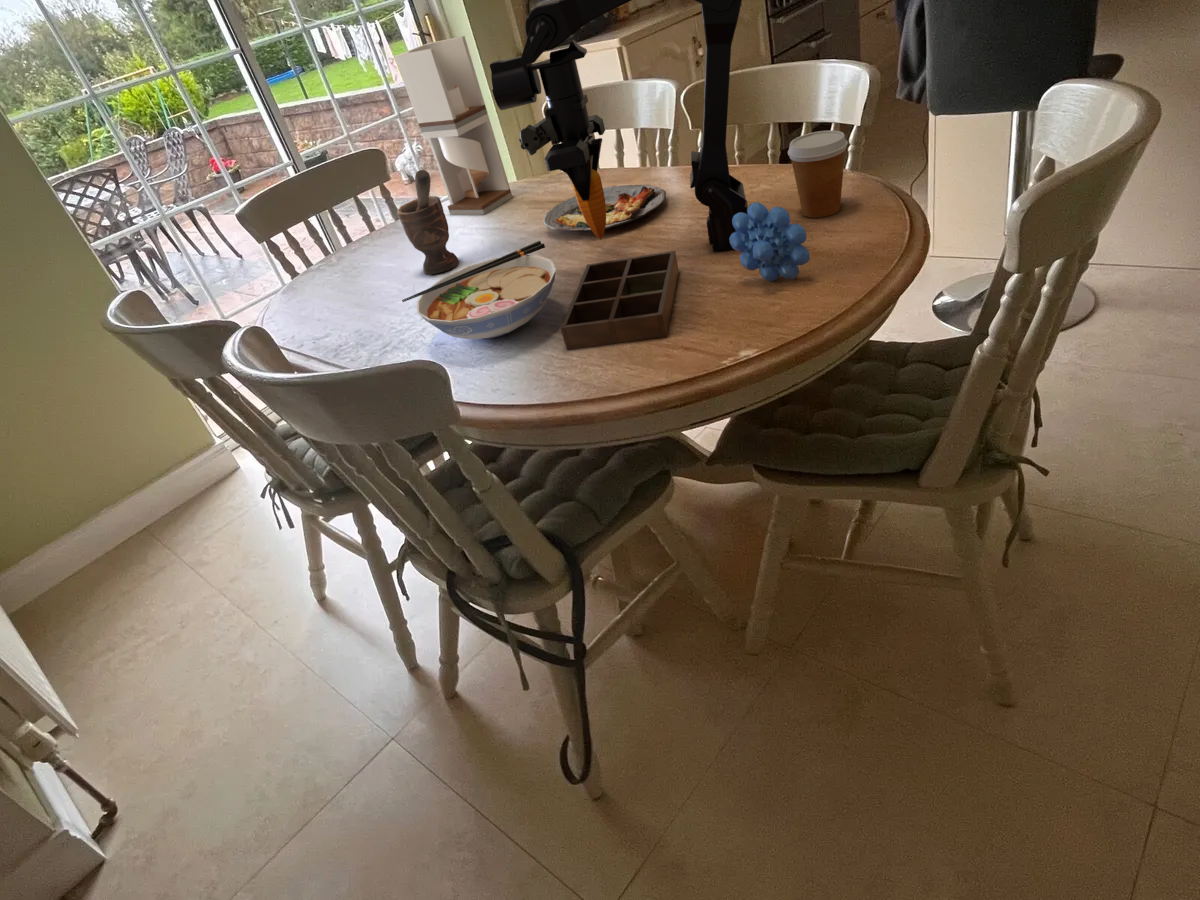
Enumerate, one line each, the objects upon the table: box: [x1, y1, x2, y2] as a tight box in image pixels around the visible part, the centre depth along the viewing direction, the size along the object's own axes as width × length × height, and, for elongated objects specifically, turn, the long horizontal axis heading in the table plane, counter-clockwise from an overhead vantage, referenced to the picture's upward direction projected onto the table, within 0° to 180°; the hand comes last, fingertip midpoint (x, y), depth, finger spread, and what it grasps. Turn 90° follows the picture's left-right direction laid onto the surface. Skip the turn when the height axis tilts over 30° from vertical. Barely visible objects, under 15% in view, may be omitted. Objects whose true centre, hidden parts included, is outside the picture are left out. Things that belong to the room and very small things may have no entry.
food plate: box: [543, 184, 667, 232], centre depth 151 cm, size 25×23×4 cm
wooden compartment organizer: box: [560, 250, 680, 350], centre depth 114 cm, size 15×22×4 cm
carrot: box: [571, 169, 606, 240], centre depth 124 cm, size 5×5×15 cm
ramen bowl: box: [401, 240, 557, 340], centre depth 118 cm, size 25×23×8 cm
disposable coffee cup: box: [787, 129, 849, 218], centre depth 125 cm, size 10×10×12 cm
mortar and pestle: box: [396, 169, 459, 276], centre depth 144 cm, size 12×9×20 cm
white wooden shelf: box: [394, 35, 513, 216], centre depth 169 cm, size 11×11×35 cm
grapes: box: [729, 202, 811, 282], centre depth 107 cm, size 12×7×12 cm, turn 62°
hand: (588, 194), depth 124 cm, fingers closed on carrot, 5 cm apart
